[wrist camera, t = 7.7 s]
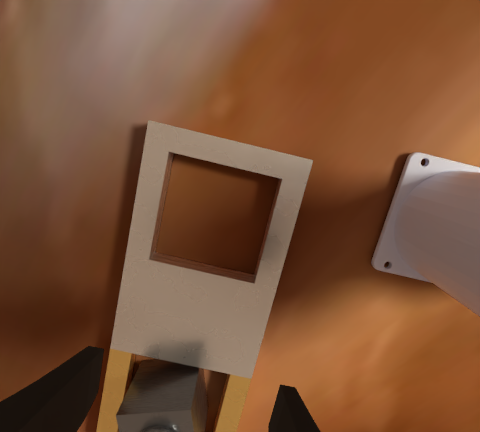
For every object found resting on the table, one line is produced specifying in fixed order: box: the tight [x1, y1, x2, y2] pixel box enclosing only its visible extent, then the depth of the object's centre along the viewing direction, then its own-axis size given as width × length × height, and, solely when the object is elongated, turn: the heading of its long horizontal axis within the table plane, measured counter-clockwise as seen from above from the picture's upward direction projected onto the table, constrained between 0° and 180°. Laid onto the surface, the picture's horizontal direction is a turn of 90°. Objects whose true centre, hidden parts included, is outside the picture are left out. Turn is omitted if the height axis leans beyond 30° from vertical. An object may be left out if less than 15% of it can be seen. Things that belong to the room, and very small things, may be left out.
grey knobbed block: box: [116, 359, 208, 432], centre depth 21 cm, size 4×4×6 cm
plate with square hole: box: [96, 120, 313, 432], centre depth 22 cm, size 10×24×2 cm, turn 167°
